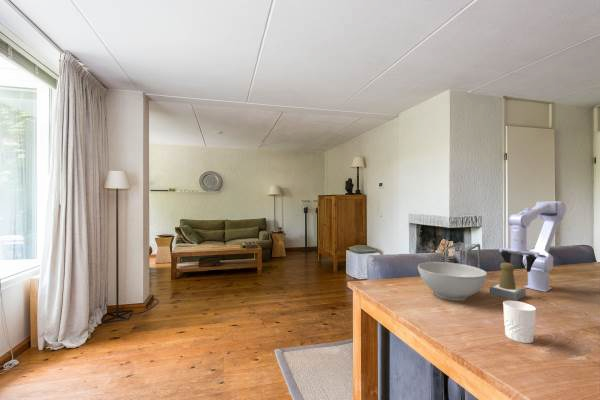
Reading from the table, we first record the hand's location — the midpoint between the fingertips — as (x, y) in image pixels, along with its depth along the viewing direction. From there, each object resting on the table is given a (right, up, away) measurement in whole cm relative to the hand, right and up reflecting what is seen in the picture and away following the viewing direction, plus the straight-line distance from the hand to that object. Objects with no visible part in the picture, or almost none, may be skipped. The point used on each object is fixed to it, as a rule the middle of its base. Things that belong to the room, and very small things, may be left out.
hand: (518, 269), depth 124 cm
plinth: (-8, -10, -4) cm, 14 cm away
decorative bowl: (-34, -11, -5) cm, 36 cm away
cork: (-8, -7, -4) cm, 11 cm away
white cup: (-34, -10, -42) cm, 54 cm away
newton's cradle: (-11, -11, +23) cm, 28 cm away
